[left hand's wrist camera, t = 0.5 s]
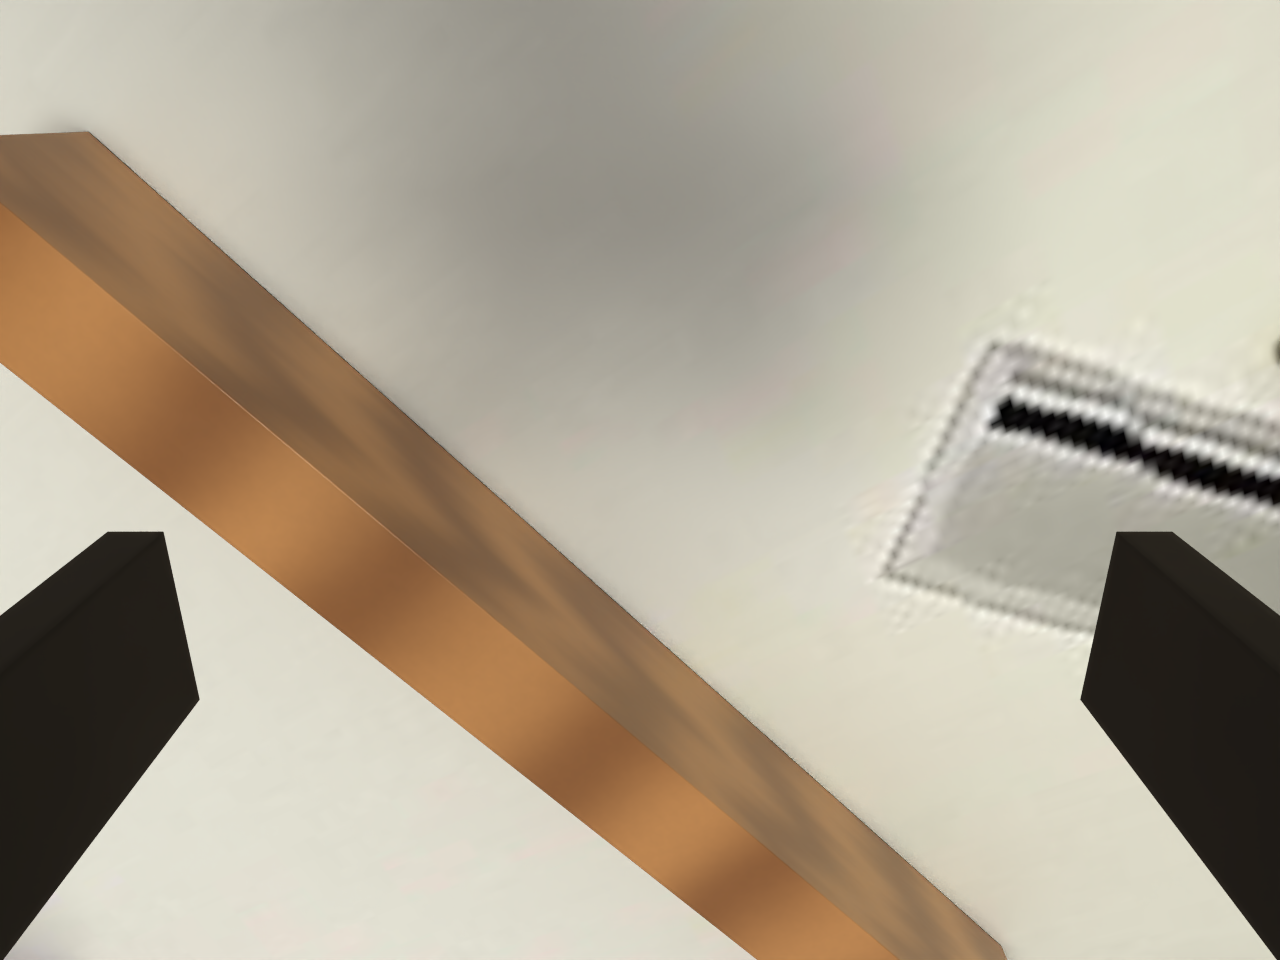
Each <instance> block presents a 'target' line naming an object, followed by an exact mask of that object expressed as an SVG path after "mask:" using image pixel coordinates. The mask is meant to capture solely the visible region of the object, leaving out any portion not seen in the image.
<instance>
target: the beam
mask: <svg viewBox="0 0 1280 960" xmlns="http://www.w3.org/2000/svg"><path fill="white" fill-rule="evenodd" d="M0 363H1V364H3V365H4V366H5V367H6V368H8V369H9V370H10V371H11V372H13V373H14V374H15V375H17V376H18V377H19V378H20V379H22V380H23V381H24V382H25V383H27V384H28V385H29V386H30V387H32V388H33V389H34V390H36V391H37V392H38V393H39V394H41V395H42V396H43V397H44V398H46V399H47V400H48V401H49V402H51V403H52V404H53V405H55V406H56V407H57V408H58V409H60V410H61V411H62V412H63V413H65V414H66V415H67V416H68V417H70V418H71V419H72V420H74V421H75V422H76V423H77V424H79V425H80V426H81V427H82V428H84V429H85V430H86V431H88V432H89V433H90V434H91V435H93V436H94V437H95V438H96V439H98V440H99V441H100V442H101V443H103V444H104V445H105V446H107V447H108V448H109V449H110V450H112V451H113V452H114V453H115V454H117V455H118V456H119V457H120V458H122V459H123V460H124V461H126V462H127V463H128V464H129V465H131V466H132V467H133V468H134V469H136V470H137V471H138V472H139V473H141V474H142V475H143V476H145V477H146V478H147V479H148V480H150V481H151V482H152V483H153V484H155V485H156V486H157V487H159V488H160V489H161V490H162V491H164V492H165V493H166V494H167V495H169V496H170V497H171V498H172V499H174V500H175V501H176V502H178V503H179V504H180V505H181V506H183V507H184V508H185V509H186V510H188V511H189V512H190V513H191V514H193V515H194V516H195V517H197V518H198V519H199V520H200V521H202V522H203V523H204V524H205V525H207V526H208V527H209V528H211V529H212V530H213V531H214V532H216V533H217V534H218V535H219V536H221V537H222V538H223V539H224V540H226V541H227V542H228V543H230V544H231V545H232V546H233V547H235V548H236V549H237V550H238V551H240V552H241V553H242V554H243V555H245V556H246V557H247V558H249V559H250V560H251V561H252V562H254V563H255V564H256V565H257V566H259V567H260V568H261V569H262V570H264V571H265V572H266V573H268V574H269V575H270V576H271V577H273V578H274V579H275V580H276V581H278V582H279V583H280V584H282V585H283V586H284V587H285V588H287V589H288V590H289V591H290V592H292V593H293V594H294V595H295V596H297V597H298V598H299V599H301V600H302V601H303V602H304V603H306V604H307V605H308V606H309V607H311V608H312V609H313V610H314V611H316V612H317V613H318V614H320V615H321V616H322V617H323V618H325V619H326V620H327V621H328V622H330V623H331V624H332V625H333V626H335V627H336V628H337V629H339V630H340V631H341V632H342V633H344V634H345V635H346V636H347V637H349V638H350V639H351V640H353V641H354V642H355V643H356V644H358V645H359V646H360V647H361V648H363V649H364V650H365V651H366V652H368V653H369V654H370V655H372V656H373V657H374V658H375V659H377V660H378V661H379V662H380V663H382V664H383V665H384V666H385V667H387V668H388V669H389V670H391V671H392V672H393V673H394V674H396V675H397V676H398V677H399V678H401V679H402V680H403V681H404V682H406V683H407V684H408V685H410V686H411V687H412V688H413V689H415V690H416V691H417V692H418V693H420V694H421V695H422V696H424V697H425V698H426V699H427V700H429V701H430V702H431V703H432V704H434V705H435V706H436V707H437V708H439V709H440V710H441V711H443V712H444V713H445V714H446V715H448V716H449V717H450V718H451V719H453V720H454V721H455V722H456V723H458V724H459V725H460V726H462V727H463V728H464V729H465V730H467V731H468V732H469V733H470V734H472V735H473V736H474V737H476V738H477V739H478V740H479V741H481V742H482V743H483V744H484V745H486V746H487V747H488V748H489V749H491V750H492V751H493V752H495V753H496V754H497V755H498V756H500V757H501V758H502V759H503V760H505V761H506V762H507V763H508V764H510V765H511V766H512V767H514V768H515V769H516V770H517V771H519V772H520V773H521V774H522V775H524V776H525V777H526V778H527V779H529V780H530V781H531V782H533V783H534V784H535V785H536V786H538V787H539V788H540V789H541V790H543V791H544V792H545V793H547V794H548V795H549V796H550V797H552V798H553V799H554V800H555V801H557V802H558V803H559V804H560V805H562V806H563V807H564V808H566V809H567V810H568V811H569V812H571V813H572V814H573V815H574V816H576V817H577V818H578V819H579V820H581V821H582V822H583V823H585V824H586V825H587V826H588V827H590V828H591V829H592V830H593V831H595V832H596V833H597V834H598V835H600V836H601V837H602V838H604V839H605V840H606V841H607V842H609V843H610V844H611V845H612V846H614V847H615V848H616V849H618V850H619V851H620V852H621V853H623V854H624V855H625V856H626V857H628V858H629V859H630V860H631V861H633V862H634V863H635V864H637V865H638V866H639V867H640V868H642V869H643V870H644V871H645V872H647V873H648V874H649V875H650V876H652V877H653V878H654V879H656V880H657V881H658V882H659V883H661V884H662V885H663V886H664V887H666V888H667V889H668V890H670V891H671V892H672V893H673V894H675V895H676V896H677V897H678V898H680V899H681V900H682V901H683V902H685V903H686V904H687V905H689V906H690V907H691V908H692V909H694V910H695V911H696V912H697V913H699V914H700V915H701V916H702V917H704V918H705V919H706V920H708V921H709V922H710V923H711V924H713V925H714V926H715V927H716V928H718V929H719V930H720V931H721V932H723V933H724V934H725V935H727V936H728V937H729V938H730V939H732V940H733V941H734V942H735V943H737V944H738V945H739V946H741V947H742V948H743V949H744V950H746V951H747V952H748V953H749V954H751V955H752V956H753V957H754V958H756V959H757V960H1007V958H1006V956H1005V954H1004V951H1003V949H1002V947H1001V946H1000V945H999V944H998V943H997V942H996V941H995V940H994V939H992V938H991V937H990V936H989V935H988V934H987V933H986V932H985V931H984V930H982V929H981V928H980V927H979V926H978V925H977V924H976V923H975V922H973V921H972V920H971V919H970V918H969V917H968V916H967V915H966V914H964V913H963V912H962V911H961V910H960V909H959V908H958V907H957V906H955V905H954V904H953V903H952V902H951V901H950V900H949V899H948V898H947V897H945V896H944V895H943V894H942V893H941V892H940V891H939V890H938V889H936V888H935V887H934V886H933V885H932V884H931V883H930V882H929V881H927V880H926V879H925V878H924V877H923V876H922V875H921V874H920V873H918V872H917V871H916V870H915V869H914V868H913V867H912V866H911V865H910V864H908V863H907V862H906V861H905V860H904V859H903V858H902V857H901V856H899V855H898V854H897V853H896V852H895V851H894V850H893V849H892V848H890V847H889V846H888V845H887V844H886V843H885V842H884V841H883V840H882V839H880V838H879V837H878V836H877V835H876V834H875V833H874V832H873V831H871V830H870V829H869V828H868V827H867V826H866V825H865V824H864V823H862V822H861V821H860V820H859V819H858V818H857V817H856V816H855V815H853V814H852V813H851V812H850V811H849V810H848V809H847V808H846V807H845V806H843V805H842V804H841V803H840V802H839V801H838V800H837V799H836V798H834V797H833V796H832V795H831V794H830V793H829V792H828V791H827V790H825V789H824V788H823V787H822V786H821V785H820V784H819V783H818V782H816V781H815V780H814V779H813V778H812V777H811V776H810V775H809V774H808V773H806V772H805V771H804V770H803V769H802V768H801V767H800V766H799V765H797V764H796V763H795V762H794V761H793V760H792V759H791V758H790V757H788V756H787V755H786V754H785V753H784V752H783V751H782V750H781V749H779V748H778V747H777V746H776V745H775V744H774V743H773V742H772V741H771V740H769V739H768V738H767V737H766V736H765V735H764V734H763V733H762V732H760V731H759V730H758V729H757V728H756V727H755V726H754V725H753V724H751V723H750V722H749V721H748V720H747V719H746V718H745V717H744V716H743V715H741V714H740V713H739V712H738V711H737V710H736V709H735V708H734V707H732V706H731V705H730V704H729V703H728V702H727V701H726V700H725V699H723V698H722V697H721V696H720V695H719V694H718V693H717V692H716V691H714V690H713V689H712V688H711V687H710V686H709V685H708V684H707V683H706V682H704V681H703V680H702V679H701V678H700V677H699V676H698V675H697V674H695V673H694V672H693V671H692V670H691V669H690V668H689V667H688V666H686V665H685V664H684V663H683V662H682V661H681V660H680V659H679V658H677V657H676V656H675V655H674V654H673V653H672V652H671V651H670V650H669V649H667V648H666V647H665V646H664V645H663V644H662V643H661V642H660V641H658V640H657V639H656V638H655V637H654V636H653V635H652V634H651V633H649V632H648V631H647V630H646V629H645V628H644V627H643V626H642V625H641V624H639V623H638V622H637V621H636V620H635V619H634V618H633V617H632V616H630V615H629V614H628V613H627V612H626V611H625V610H624V609H623V608H621V607H620V606H619V605H618V604H617V603H616V602H615V601H614V600H612V599H611V598H610V597H609V596H608V595H607V594H606V593H605V592H604V591H602V590H601V589H600V588H599V587H598V586H597V585H596V584H595V583H593V582H592V581H591V580H590V579H589V578H588V577H587V576H586V575H584V574H583V573H582V572H581V571H580V570H579V569H578V568H577V567H575V566H574V565H573V564H572V563H571V562H570V561H569V560H568V559H567V558H565V557H564V556H563V555H562V554H561V553H560V552H559V551H558V550H556V549H555V548H554V547H553V546H552V545H551V544H550V543H549V542H547V541H546V540H545V539H544V538H543V537H542V536H541V535H540V534H538V533H537V532H536V531H535V530H534V529H533V528H532V527H531V526H530V525H528V524H527V523H526V522H525V521H524V520H523V519H522V518H521V517H519V516H518V515H517V514H516V513H515V512H514V511H513V510H512V509H510V508H509V507H508V506H507V505H506V504H505V503H504V502H503V501H502V500H500V499H499V498H498V497H497V496H496V495H495V494H494V493H493V492H491V491H490V490H489V489H488V488H487V487H486V486H485V485H484V484H482V483H481V482H480V481H479V480H478V479H477V478H476V477H475V476H473V475H472V474H471V473H470V472H469V471H468V470H467V469H466V468H465V467H463V466H462V465H461V464H460V463H459V462H458V461H457V460H456V459H454V458H453V457H452V456H451V455H450V454H449V453H448V452H447V451H445V450H444V449H443V448H442V447H441V446H440V445H439V444H438V443H436V442H435V441H434V440H433V439H432V438H431V437H430V436H429V435H428V434H426V433H425V432H424V431H423V430H422V429H421V428H420V427H419V426H417V425H416V424H415V423H414V422H413V421H412V420H411V419H410V418H408V417H407V416H406V415H405V414H404V413H403V412H402V411H401V410H400V409H398V408H397V407H396V406H395V405H394V404H393V403H392V402H391V401H389V400H388V399H387V398H386V397H385V396H384V395H383V394H382V393H380V392H379V391H378V390H377V389H376V388H375V387H374V386H373V385H371V384H370V383H369V382H368V381H367V380H366V379H365V378H364V377H363V376H361V375H360V374H359V373H358V372H357V371H356V370H355V369H354V368H352V367H351V366H350V365H349V364H348V363H347V362H346V361H345V360H343V359H342V358H341V357H340V356H339V355H338V354H337V353H336V352H334V351H333V350H332V349H331V348H330V347H329V346H328V345H327V344H326V343H324V342H323V341H322V340H321V339H320V338H319V337H318V336H317V335H315V334H314V333H313V332H312V331H311V330H310V329H309V328H308V327H306V326H305V325H304V324H303V323H302V322H301V321H300V320H299V319H297V318H296V317H295V316H294V315H293V314H292V313H291V312H290V311H289V310H287V309H286V308H285V307H284V306H283V305H282V304H281V303H280V302H278V301H277V300H276V299H275V298H274V297H273V296H272V295H271V294H269V293H268V292H267V291H266V290H265V289H264V288H263V287H262V286H261V285H259V284H258V283H257V282H256V281H255V280H254V279H253V278H252V277H250V276H249V275H248V274H247V273H246V272H245V271H244V270H243V269H241V268H240V267H239V266H238V265H237V264H236V263H235V262H234V261H232V260H231V259H230V258H229V257H228V256H227V255H226V254H225V253H224V252H222V251H221V250H220V249H219V248H218V247H217V246H216V245H215V244H213V243H212V242H211V241H210V240H209V239H208V238H207V237H206V236H204V235H203V234H202V233H201V232H200V231H199V230H198V229H197V228H195V227H194V226H193V225H192V224H191V223H190V222H189V221H188V220H187V219H185V218H184V217H183V216H182V215H181V214H180V213H179V212H178V211H176V210H175V209H174V208H173V207H172V206H171V205H170V204H169V203H167V202H166V201H165V200H164V199H163V198H162V197H161V196H160V195H159V194H157V193H156V192H155V191H154V190H153V189H152V188H151V187H150V186H148V185H147V184H146V183H145V182H144V181H143V180H142V179H141V178H139V177H138V176H137V175H136V174H135V173H134V172H133V171H132V170H130V169H129V168H128V167H127V166H126V165H125V164H124V163H123V162H122V161H120V160H119V159H118V158H117V157H116V156H115V155H114V154H113V153H111V152H110V151H109V150H108V149H107V148H106V147H105V146H104V145H102V144H101V143H100V142H99V141H98V140H97V139H96V138H95V137H93V136H92V135H91V134H90V133H89V132H69V133H43V134H17V135H0Z"/></svg>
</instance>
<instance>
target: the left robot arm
mask: <svg viewBox="0 0 1280 960" xmlns="http://www.w3.org/2000/svg"><path fill="white" fill-rule="evenodd" d="M199 700H200V699H199V695H198V690H197V685H196V681H195V676H194V671H193V667H192V662H191V657H190V653H189V648H188V644H187V639H186V634H185V630H184V625H183V620H182V616H181V611H180V606H179V602H178V597H177V592H176V588H175V583H174V579H173V574H172V569H171V565H170V560H169V555H168V551H167V546H166V541H165V537H164V532H107V533H106V534H104V535H103V536H102V537H100V538H99V539H98V540H97V541H95V542H94V543H93V544H91V545H90V546H89V547H88V548H86V549H85V550H84V551H83V552H81V553H80V554H79V555H77V556H76V557H75V558H74V559H72V560H71V561H70V562H68V563H67V564H66V565H65V566H63V567H62V568H61V569H59V570H58V571H57V572H56V573H54V574H53V575H52V576H50V577H49V578H48V579H47V580H45V581H44V582H43V583H42V584H40V585H39V586H38V587H36V588H35V589H34V590H33V591H31V592H30V593H29V594H27V595H26V596H25V597H24V598H22V599H21V600H20V601H18V602H17V603H16V604H15V605H13V606H12V607H11V608H9V609H8V610H7V611H6V612H4V613H3V614H2V615H1V616H0V960H3V959H4V958H5V957H6V955H7V954H8V953H9V951H10V950H11V949H12V947H13V946H14V945H15V943H16V942H17V941H18V939H19V938H20V937H21V935H22V934H23V933H24V931H25V930H26V929H27V927H28V926H29V925H30V923H31V922H32V921H33V920H34V918H35V917H36V916H37V914H38V913H39V912H40V910H41V909H42V908H43V906H44V905H45V904H46V902H47V901H48V900H49V898H50V897H51V896H52V894H53V893H54V892H55V890H56V889H57V888H58V886H59V885H60V884H61V882H62V881H63V880H64V878H65V877H66V876H67V874H68V873H69V872H70V871H71V869H72V868H73V867H74V865H75V864H76V863H77V861H78V860H79V859H80V857H81V856H82V855H83V853H84V852H85V851H86V849H87V848H88V847H89V845H90V844H91V843H92V841H93V840H94V839H95V837H96V836H97V835H98V833H99V832H100V831H101V829H102V828H103V827H104V825H105V824H106V823H107V822H108V820H109V819H110V818H111V816H112V815H113V814H114V812H115V811H116V810H117V808H118V807H119V806H120V804H121V803H122V802H123V800H124V799H125V798H126V796H127V795H128V794H129V792H130V791H131V790H132V788H133V787H134V786H135V784H136V783H137V782H138V780H139V779H140V778H141V776H142V775H143V774H144V773H145V771H146V770H147V769H148V767H149V766H150V765H151V763H152V762H153V761H154V759H155V758H156V757H157V755H158V754H159V753H160V751H161V750H162V749H163V747H164V746H165V745H166V743H167V742H168V741H169V739H170V738H171V737H172V735H173V734H174V733H175V731H176V730H177V729H178V727H179V726H180V725H181V724H182V722H183V721H184V720H185V718H186V717H187V716H188V714H189V713H190V712H191V710H192V709H193V708H194V706H195V705H196V704H197V702H198V701H199ZM1080 700H1081V701H1082V702H1083V704H1084V705H1085V706H1086V708H1087V709H1088V710H1089V712H1090V713H1091V714H1092V716H1093V717H1094V718H1095V720H1096V721H1097V722H1098V724H1099V725H1100V726H1101V727H1102V729H1103V730H1104V731H1105V733H1106V734H1107V735H1108V737H1109V738H1110V739H1111V741H1112V742H1113V743H1114V745H1115V746H1116V747H1117V749H1118V750H1119V751H1120V753H1121V754H1122V755H1123V757H1124V758H1125V759H1126V761H1127V762H1128V763H1129V765H1130V766H1131V767H1132V769H1133V770H1134V771H1135V773H1136V774H1137V775H1138V776H1139V778H1140V779H1141V780H1142V782H1143V783H1144V784H1145V786H1146V787H1147V788H1148V790H1149V791H1150V792H1151V794H1152V795H1153V796H1154V798H1155V799H1156V800H1157V802H1158V803H1159V804H1160V806H1161V807H1162V808H1163V810H1164V811H1165V812H1166V814H1167V815H1168V816H1169V818H1170V819H1171V820H1172V822H1173V823H1174V824H1175V825H1176V827H1177V828H1178V829H1179V831H1180V832H1181V833H1182V835H1183V836H1184V837H1185V839H1186V840H1187V841H1188V843H1189V844H1190V845H1191V847H1192V848H1193V849H1194V851H1195V852H1196V853H1197V855H1198V856H1199V857H1200V859H1201V860H1202V861H1203V863H1204V864H1205V865H1206V867H1207V868H1208V869H1209V871H1210V872H1211V873H1212V874H1213V876H1214V877H1215V878H1216V880H1217V881H1218V882H1219V884H1220V885H1221V886H1222V888H1223V889H1224V890H1225V892H1226V893H1227V894H1228V896H1229V897H1230V898H1231V900H1232V901H1233V902H1234V904H1235V905H1236V906H1237V908H1238V909H1239V910H1240V912H1241V913H1242V914H1243V916H1244V917H1245V918H1246V920H1247V921H1248V922H1249V923H1250V925H1251V926H1252V927H1253V929H1254V930H1255V931H1256V933H1257V934H1258V935H1259V937H1260V938H1261V939H1262V941H1263V942H1264V943H1265V945H1266V946H1267V947H1268V949H1269V950H1270V951H1271V953H1272V954H1273V955H1274V957H1275V958H1276V959H1277V960H1280V616H1279V615H1278V614H1277V613H1276V612H1274V611H1273V610H1272V609H1271V608H1269V607H1268V606H1267V605H1265V604H1264V603H1263V602H1262V601H1260V600H1259V599H1258V598H1256V597H1255V596H1254V595H1253V594H1251V593H1250V592H1249V591H1247V590H1246V589H1245V588H1244V587H1242V586H1241V585H1240V584H1238V583H1237V582H1236V581H1235V580H1233V579H1232V578H1231V577H1230V576H1228V575H1227V574H1226V573H1224V572H1223V571H1222V570H1221V569H1219V568H1218V567H1217V566H1215V565H1214V564H1213V563H1212V562H1210V561H1209V560H1208V559H1206V558H1205V557H1204V556H1203V555H1201V554H1200V553H1199V552H1197V551H1196V550H1195V549H1194V548H1192V547H1191V546H1190V545H1189V544H1187V543H1186V542H1185V541H1183V540H1182V539H1181V538H1180V537H1178V536H1177V535H1176V534H1174V533H1173V532H1116V537H1115V541H1114V546H1113V551H1112V555H1111V560H1110V565H1109V569H1108V574H1107V579H1106V583H1105V588H1104V592H1103V597H1102V602H1101V606H1100V611H1099V616H1098V620H1097V625H1096V630H1095V634H1094V639H1093V644H1092V648H1091V653H1090V657H1089V662H1088V667H1087V671H1086V676H1085V681H1084V685H1083V690H1082V695H1081V699H1080Z"/></svg>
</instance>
